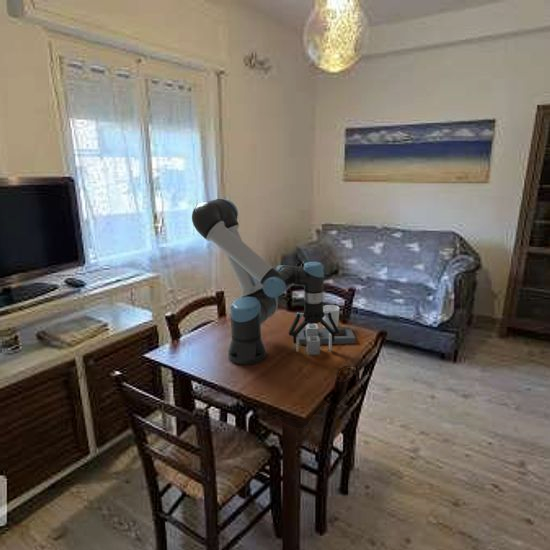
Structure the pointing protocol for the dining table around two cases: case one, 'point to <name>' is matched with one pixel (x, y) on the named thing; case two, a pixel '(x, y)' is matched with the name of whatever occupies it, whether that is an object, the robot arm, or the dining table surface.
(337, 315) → the white cup
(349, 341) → the grey socket block
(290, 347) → the dining table surface
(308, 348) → the block
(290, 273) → the robot arm
